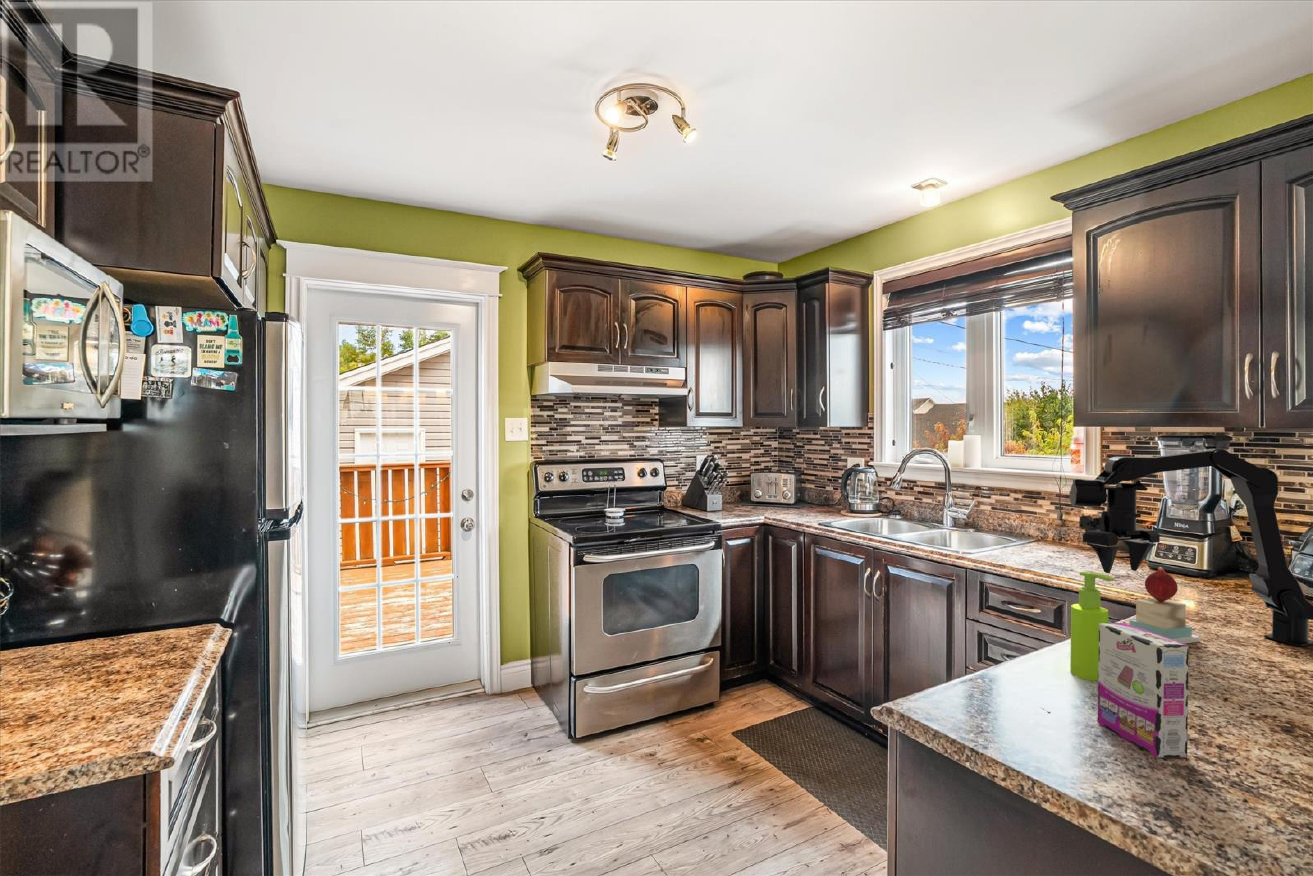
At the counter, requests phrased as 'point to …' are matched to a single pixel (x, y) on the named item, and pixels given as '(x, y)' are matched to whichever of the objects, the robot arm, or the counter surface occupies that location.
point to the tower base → (1169, 632)
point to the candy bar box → (1143, 689)
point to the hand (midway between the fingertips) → (1120, 571)
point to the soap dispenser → (1087, 628)
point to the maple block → (1160, 613)
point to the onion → (1161, 585)
